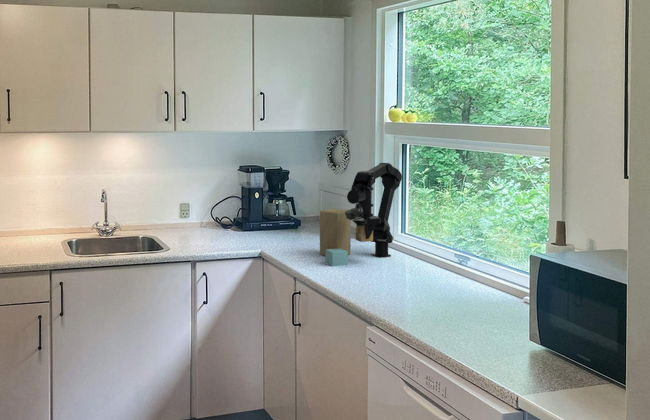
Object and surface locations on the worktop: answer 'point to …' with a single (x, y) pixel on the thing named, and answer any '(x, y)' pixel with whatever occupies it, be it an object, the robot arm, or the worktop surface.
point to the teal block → (336, 257)
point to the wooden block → (334, 230)
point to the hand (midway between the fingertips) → (364, 238)
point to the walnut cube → (362, 234)
